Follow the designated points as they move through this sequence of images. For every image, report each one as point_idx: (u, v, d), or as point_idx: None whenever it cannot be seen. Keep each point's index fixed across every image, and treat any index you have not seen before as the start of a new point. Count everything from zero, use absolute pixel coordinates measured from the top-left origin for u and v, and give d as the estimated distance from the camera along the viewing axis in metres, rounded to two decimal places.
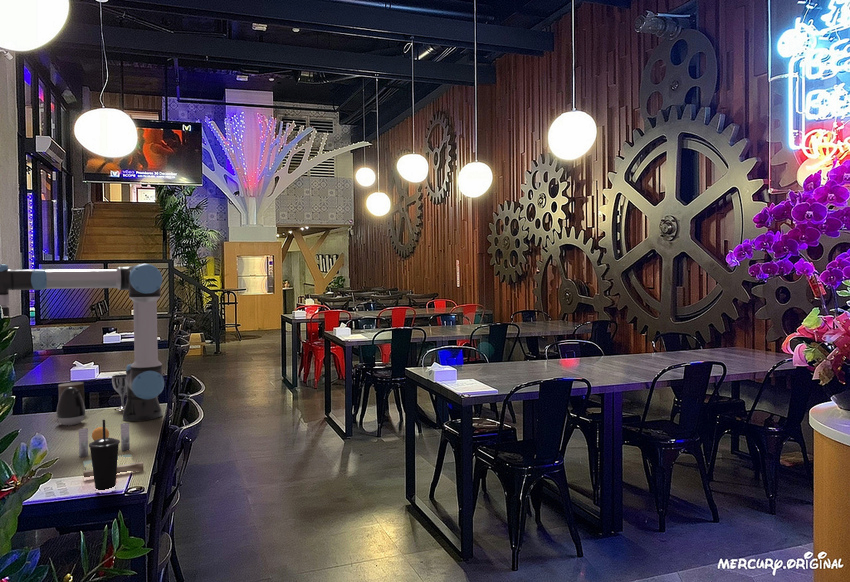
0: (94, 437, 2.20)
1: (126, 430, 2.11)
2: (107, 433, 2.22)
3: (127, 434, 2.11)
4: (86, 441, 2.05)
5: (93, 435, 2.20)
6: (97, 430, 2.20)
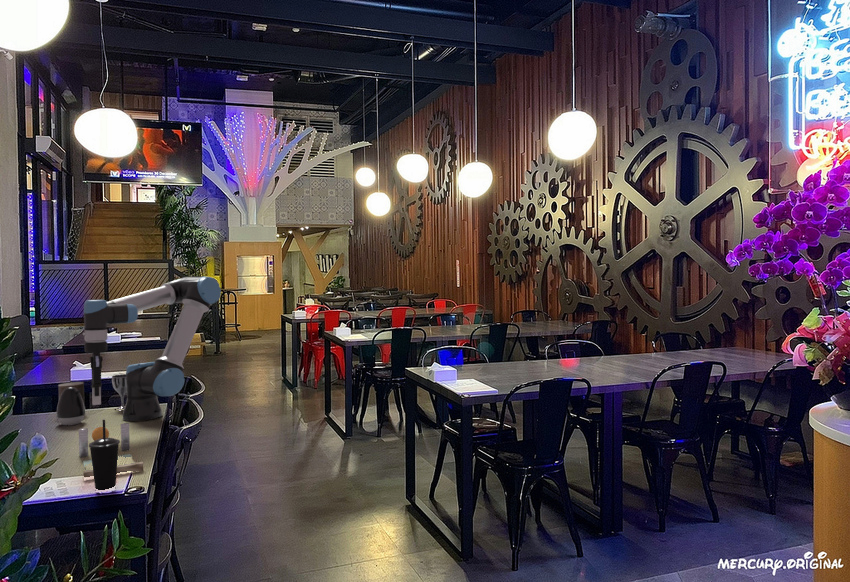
0: (94, 437, 2.20)
1: (126, 430, 2.11)
2: (107, 433, 2.22)
3: (127, 434, 2.11)
4: (86, 441, 2.05)
5: (93, 435, 2.20)
6: (97, 430, 2.20)
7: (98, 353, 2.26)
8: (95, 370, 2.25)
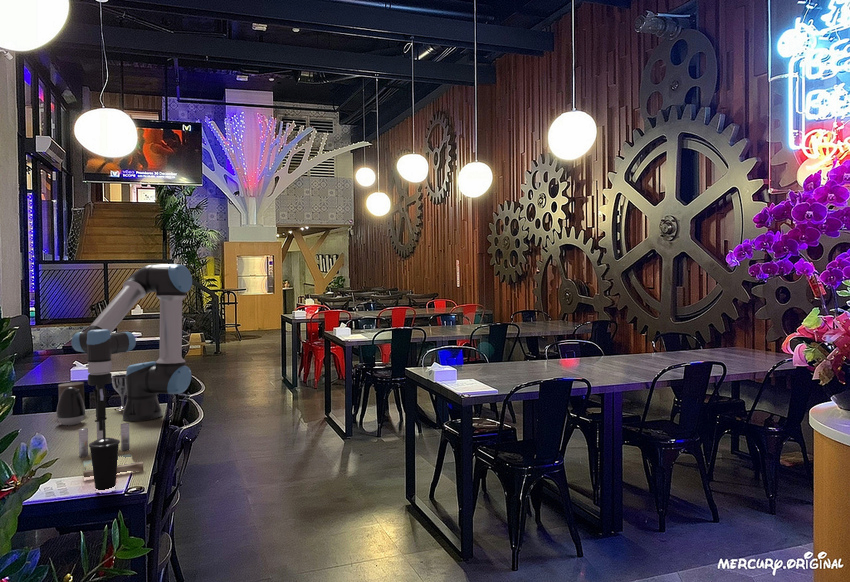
0: None
1: (126, 430, 2.11)
2: None
3: (127, 434, 2.11)
4: (86, 441, 2.05)
5: None
6: None
7: (102, 386, 2.16)
8: (99, 404, 2.15)
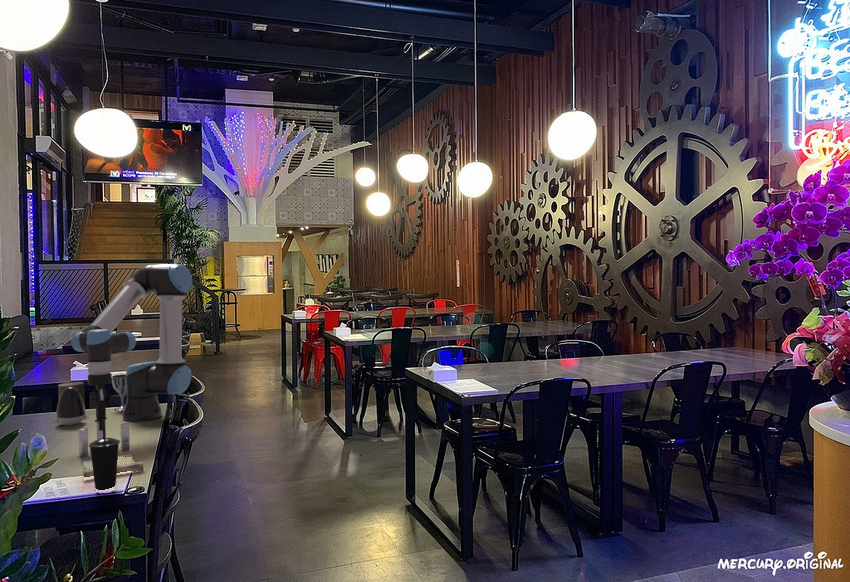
0: None
1: (126, 430, 2.11)
2: None
3: (127, 434, 2.11)
4: (86, 441, 2.05)
5: None
6: None
7: (102, 386, 2.16)
8: (99, 404, 2.15)
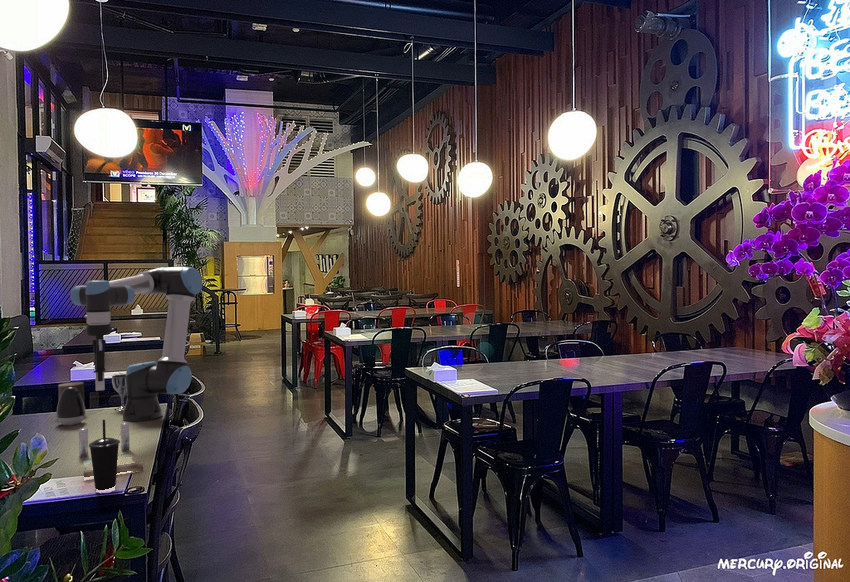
0: None
1: (126, 430, 2.11)
2: None
3: (127, 434, 2.11)
4: (86, 441, 2.05)
5: None
6: None
7: (101, 336, 2.16)
8: (98, 354, 2.14)
